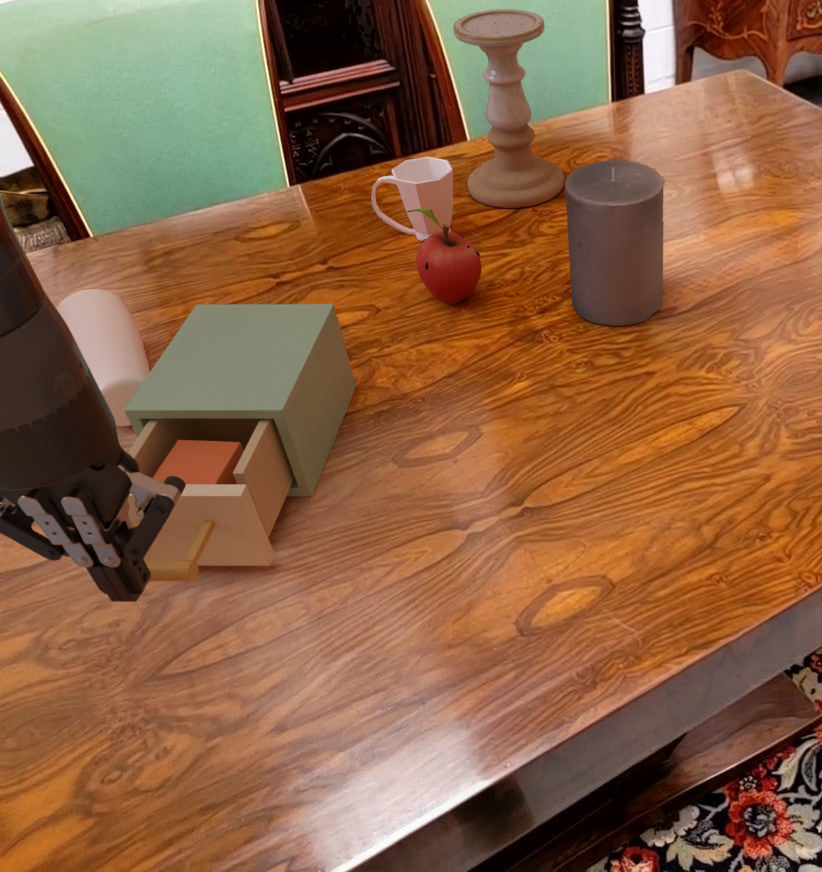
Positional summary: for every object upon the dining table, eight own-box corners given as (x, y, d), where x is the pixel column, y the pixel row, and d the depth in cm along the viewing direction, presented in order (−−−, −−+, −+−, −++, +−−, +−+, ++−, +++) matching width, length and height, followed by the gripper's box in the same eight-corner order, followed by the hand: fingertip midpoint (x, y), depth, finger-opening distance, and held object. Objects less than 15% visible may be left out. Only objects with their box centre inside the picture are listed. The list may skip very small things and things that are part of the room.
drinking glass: (136, 446, 86) (102, 358, 94) (185, 393, 85) (146, 309, 94) (65, 417, 80) (36, 326, 89) (117, 360, 80) (82, 275, 89)
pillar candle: (564, 284, 102) (554, 153, 92) (651, 272, 103) (649, 141, 94) (582, 334, 95) (573, 197, 85) (675, 319, 96) (677, 183, 86)
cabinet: (312, 496, 77) (282, 409, 71) (165, 496, 78) (123, 410, 72) (356, 386, 89) (333, 303, 82) (228, 386, 89) (196, 304, 83)
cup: (457, 248, 108) (446, 183, 103) (371, 247, 108) (357, 183, 103) (467, 219, 113) (458, 155, 108) (386, 218, 114) (373, 155, 108)
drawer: (246, 621, 67) (213, 551, 62) (93, 620, 67) (48, 551, 62) (319, 446, 81) (297, 378, 76) (192, 446, 81) (162, 378, 76)
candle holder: (495, 218, 113) (473, 48, 100) (452, 181, 121) (426, 18, 108) (582, 192, 118) (572, 26, 105) (536, 157, 126) (521, -1, 113)
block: (171, 530, 72) (147, 483, 68) (199, 485, 76) (178, 439, 72) (233, 533, 71) (213, 486, 68) (258, 488, 75) (240, 441, 72)
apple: (491, 280, 103) (479, 196, 96) (481, 314, 97) (468, 228, 91) (421, 280, 103) (405, 196, 96) (408, 315, 98) (390, 228, 91)
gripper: (160, 343, 53) (249, 549, 64) (-69, 344, 53) (60, 549, 65) (99, 429, 47) (209, 638, 59) (-155, 429, 48) (2, 637, 59)
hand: (130, 591), depth 62 cm, fingers closed
